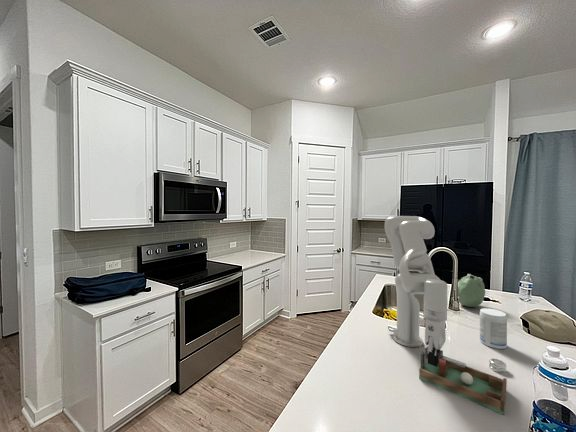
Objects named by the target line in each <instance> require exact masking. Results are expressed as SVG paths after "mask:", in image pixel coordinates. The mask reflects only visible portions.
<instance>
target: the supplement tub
mask: <svg viewBox="0 0 576 432" xmlns="http://www.w3.org/2000/svg"><path fill="white" fill-rule="evenodd" d="M479 340H480V342H481V343H482V344H483V345H485V346H487V347H489V348H493V349H496V350H497V349H498V350H503V349H506V348H507V347H508V318H507V314H506V313H505V312H504V311H501V310H497V309H494V308H484V307H483V308H480V309H479Z"/></svg>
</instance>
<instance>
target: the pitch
mask: <svg viewBox="0 0 576 432" xmlns="http://www.w3.org/2000/svg"><path fill="white" fill-rule="evenodd" d="M425 360H426V358H425V351H422V352H421V353H420V368H419V373H418V374H419V375H418V377H419V379H420V380H421V381H424V382H426V383H429V384H431V385H433V386H436V387H438V388H440V389H443V390H445V391H447V392H449V393H452V394H454V395H457V396H459V397H460V398H463V399H466V400H468V401H470V402H473V403H475V404H477V405H480V406H481V407H484V408H486V409H488V410H491V411H492V412H496V413H498V414H500V415H502V416H505V412H506V411H505V409H506V408H505V407H506V398H507V387H508V386H507V383H508V381H507V378H505V377H503V378H501V377H498V376H495V375H492V374H489V373H486V372H484V371H481V370H478V369H475V368H473V367H470V366H467V365H466V367H465V368H464V367H461V366H458V365H456V364H453V363H450V362H448V366H447V374H446V377H445V376H442V375H440V374H439V363H438V366H437V367H436V366H433V365H431V364H428V362H427V363H426V362H425ZM425 363H426V364H425ZM463 372H467V373H469V374H470V375H471V376H472V377H473V383H472V384H471V385H467V384H465V383H463V382H462V380H461V377H460V376H461V374H462V373H463Z"/></svg>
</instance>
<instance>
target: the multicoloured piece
mask: <svg viewBox="0 0 576 432" xmlns="http://www.w3.org/2000/svg"><path fill="white" fill-rule="evenodd" d="M433 350H434V351H435V349H434V348H433ZM424 352H425V360H426V359H427V360H428V345H427V346H426V347H425V351H424ZM437 355H438V363H439V374H440V375H442V376H445V377H446V374H447V366H448V362H450V363H453V364H456V365H458V366H461V367H464V368H465V367H466V366H467V365H466V363H465V362H462V361H460V360H457V359H455V358H454V359H453V358H451V357H449V356H445V355H444V350H442V349H440V350H438V349H437Z"/></svg>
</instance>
